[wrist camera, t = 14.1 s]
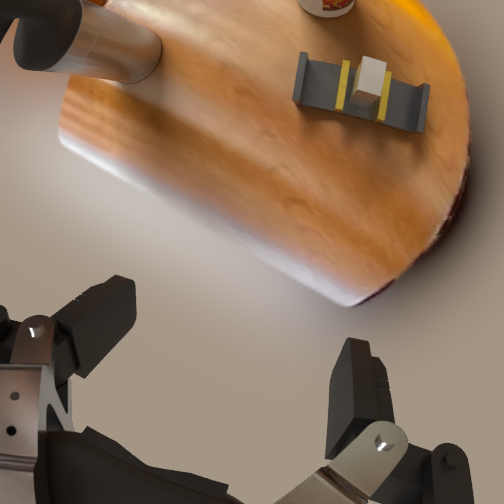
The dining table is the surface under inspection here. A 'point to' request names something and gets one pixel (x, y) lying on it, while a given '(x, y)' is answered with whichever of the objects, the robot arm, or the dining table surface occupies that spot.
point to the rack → (336, 100)
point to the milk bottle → (326, 7)
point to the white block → (367, 82)
